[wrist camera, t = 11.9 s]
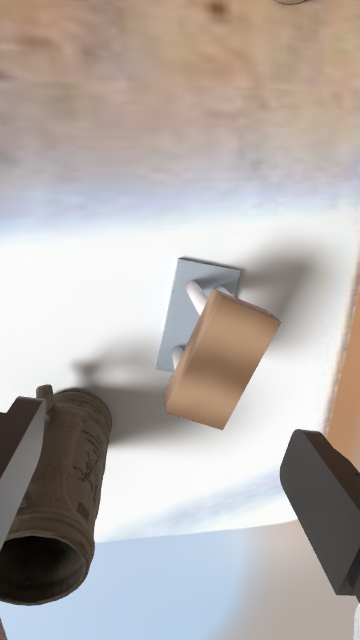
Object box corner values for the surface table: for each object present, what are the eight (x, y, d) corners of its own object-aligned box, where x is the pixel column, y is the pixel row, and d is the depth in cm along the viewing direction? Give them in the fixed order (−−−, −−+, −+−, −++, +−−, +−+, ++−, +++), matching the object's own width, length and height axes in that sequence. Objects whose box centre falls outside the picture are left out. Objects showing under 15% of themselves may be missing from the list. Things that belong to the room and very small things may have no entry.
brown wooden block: (213, 288, 31) (221, 297, 28) (267, 310, 32) (281, 322, 29) (164, 392, 34) (166, 412, 30) (215, 409, 35) (222, 430, 32)
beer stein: (126, 438, 48) (114, 585, 29) (60, 466, 48) (6, 628, 30) (76, 352, 43) (23, 461, 24) (3, 383, 43) (-106, 515, 25)
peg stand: (178, 258, 41) (189, 274, 30) (238, 270, 42) (269, 289, 31) (156, 366, 45) (160, 412, 34) (212, 373, 46) (231, 420, 36)
